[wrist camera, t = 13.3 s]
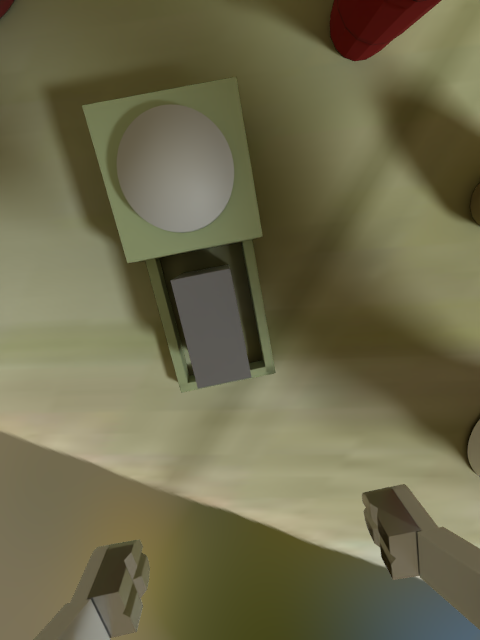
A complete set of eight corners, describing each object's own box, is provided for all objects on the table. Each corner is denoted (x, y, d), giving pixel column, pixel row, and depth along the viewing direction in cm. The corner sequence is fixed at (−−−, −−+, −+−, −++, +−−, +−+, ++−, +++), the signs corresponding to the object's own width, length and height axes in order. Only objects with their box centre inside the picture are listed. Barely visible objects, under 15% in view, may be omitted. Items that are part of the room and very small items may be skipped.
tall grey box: (227, 264, 31) (230, 268, 23) (244, 348, 33) (251, 377, 26) (183, 273, 31) (170, 280, 23) (203, 356, 33) (197, 388, 25)
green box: (232, 113, 27) (237, 66, 20) (276, 365, 34) (290, 394, 27) (111, 136, 27) (74, 97, 20) (179, 385, 34) (168, 420, 27)
